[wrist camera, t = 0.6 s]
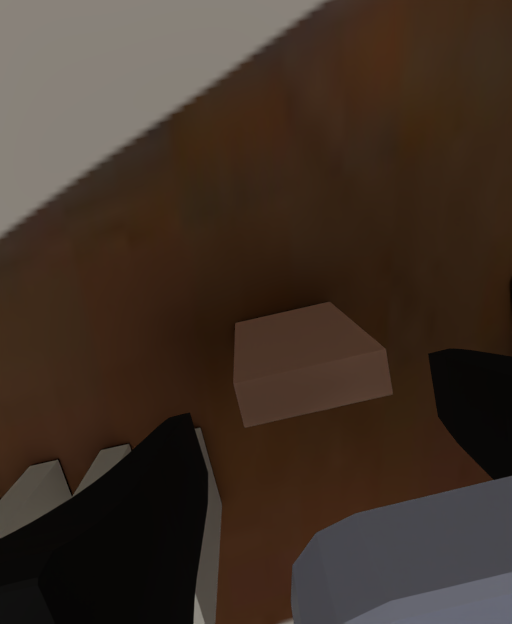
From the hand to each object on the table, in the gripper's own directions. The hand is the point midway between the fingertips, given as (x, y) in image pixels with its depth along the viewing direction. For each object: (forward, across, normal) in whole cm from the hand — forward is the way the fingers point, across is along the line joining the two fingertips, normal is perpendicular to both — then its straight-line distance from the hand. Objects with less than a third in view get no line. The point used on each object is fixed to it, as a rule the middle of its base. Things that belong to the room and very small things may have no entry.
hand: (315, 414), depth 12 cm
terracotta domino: (+9, 0, 0) cm, 9 cm away
